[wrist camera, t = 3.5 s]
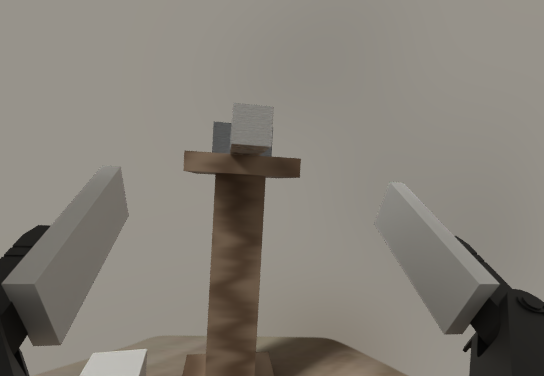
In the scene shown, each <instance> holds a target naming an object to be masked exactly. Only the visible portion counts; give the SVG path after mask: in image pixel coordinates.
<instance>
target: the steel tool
mask: <svg viewBox="0 0 544 376" xmlns="http://www.w3.org/2000/svg"><path fill="white" fill-rule="evenodd" d="M273 109H274V107H270V106H260V105H249V104H239V103H234V104H233V114H232V123H223V122H214V128H213V147H212V153H226V154H240V155H254V156H268V157H271V153H272V135H273Z"/></svg>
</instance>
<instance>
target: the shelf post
mask: <svg viewBox="0 0 544 376" xmlns="http://www.w3.org/2000/svg"><path fill="white" fill-rule="evenodd" d="M300 161H301V159H296V158H282V157H268V156H254V155H240V154H226V153H211V152H197V151H185V153H184V171H188V172H192V173H198V174H199V173H200V174H215V175H216V176H215V177H216V179H215V196H214V214H213V233H212V252H211V271H210V290H209V309H208V329H207V347H206V354H193V355H187V357H186V362H185V366H184V371H183V376H274V373H273V369H272V365H271V361H270V357H269V353H268V352H256V339H257V321H258V303H259V285H260V267H261V249H262V231H263V213H264V212H263V211H264V196H265V178H296V177H298V178H299V177H300V163H301V162H300Z"/></svg>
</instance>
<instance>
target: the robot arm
mask: <svg viewBox="0 0 544 376" xmlns="http://www.w3.org/2000/svg"><path fill="white" fill-rule="evenodd" d="M128 216H129V215H128V209H127V203H126V197H125V191H124V184H123V178H122V172H121V167H117V166H102V167H101V168H100V169H99V170H98V171H97V173H96V174H95V175H94V176H93V177H92V179H91V180H90V181H89V182H88V183H87V184H86V186H85V187H84V188H83V189H82V190H81V191H80V193H79V194H78V195H77V196H76V197H75V198H74V199H73V201H72V202H71V203H70V204H69V205H68V206H67V208H66V209H65V210H64V211H63V212H62V213H61V215H60V216H59V217H58V218H57V219H56V220H55V222H54V223H53V224H52V225H51V226H45V225H44V226H43V225H38V226H36V227H35V228H33V229H32V230H30V231H28V232H27V233H25V234H23V235H22V236H21V237H20V238H19V239H18V241H17V242H16V243H15V244H14V245H13V247H12V248H10V249H9V250H8V251H7V252H6V254H4V257H1V259H0V376H29V373H28V370H27V367H26V364H25V361H24V358H23V355H22V352H21V351H20V349H19V347H20V345H21V344H22V342H23V341H24V339H25V338H26V336H27V335H28V337H29V339H30V341H31V343H32V345H33V346H50V345H61V344H62V342H63V340H64V338H65V336H66V334H67V332H68V330H69V329H70V327H71V325H72V323H73V321H74V319H75V317H76V315H77V313H78V311H79V309H80V307H81V306H82V304H83V302H84V299H85V298H86V296H87V294H88V292H89V290H90V288H91V286H92V284H93V283H94V281H95V279H96V277H97V275H98V273H99V271H100V269H101V267H102V265H103V264H104V262H105V260H106V258H107V256H108V254H109V252H110V250H111V248H112V246H113V244H114V242H115V241H116V239H117V237H118V235H119V233H120V231H121V229H122V227H123V225H124V223H125V222H126V220H127V217H128ZM374 225H375V226H376V228H377V229H378V231H379V233H380V234H381V236H382V237H383V239H384V241H385V242H386V244H387V245H388V247H389V248H390V250H391V252H392V253H393V255H394V256H395V258H396V259H397V261H398V263H399V264H400V266H401V267H402V269H403V270H404V272H405V274H406V275H407V277H408V278H409V280H410V282H411V283H412V285H413V286H414V288H415V289H416V291H417V292H418V294H419V296H420V297H421V299H422V300H423V302H424V304H425V305H426V307H427V308H428V310H429V311H430V313H431V315H432V316H433V318H434V319H435V321H436V322H437V324H438V325H439V327H440V329H441V330H442V332H443V333H444V334H463V332H464V331H465V330H466V328H467V327H468V326H469V324H471V325H472V327H473V328H474V329H475V331H476V333H475V334H474V335H473V336H472V338H471V339H470V340H469V341H468V343H467V344H466V345H465V346H464V349H463V351H464V352H467V350H468V349H469V348H471V362H470V375H469V376H544V302H542V301H541V300H540V299H538V298H537V297H535V296H533V295H532V294H530V293H528V292H525V291H522V290H517V289H512V288H511V287H510V286H509V285H508V284H507V283H506V282H505V281H504V280H503V279H502V278H501V277H500V276H499V275H498V274H497V273H496V272H495V271H494V270H493V269H492V268H491V267H490V266H489V265H488V264H487V263H485V262H484V260H483V259H482V258H481V257H480V256H479V255H477V253H476V252H475V250H474V249H472V247H470V245H469V244H467V243H466V242H464V241H463V240H461V239H460V238H458V237H457V236H454V235H452V233H451V232H450V231H449V230H448V229H447V228H446V227H445V226H444V225H443V224H442V223H441V222H440V221H439V220H438V219H437V218H436V217H435V216H434V214H433V213H432V212H431V211H430V210H429V209H428V208H427V207H426V206H425V205H424V204H423V203H422V202H421V201H420V200H419V199H418V198H417V197H416V196H415V195H414V193H413V192H412V191H411V190H410V189H409V188H408V187H407V186H406V185H405V184H404V183H400V182H389V185H388V188H387V190H386V193H385V196H384V198H383V201H382V203H381V206H380V209H379V211H378V214H377V217H376V220H375V222H374Z"/></svg>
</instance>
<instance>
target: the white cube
mask: <svg viewBox="0 0 544 376" xmlns="http://www.w3.org/2000/svg"><path fill="white" fill-rule="evenodd" d="M146 362H147V349H138V350H126V351H113V352H101V353H93V354H92V356H91V358H90V359H89V361H88V363H87V364H86V366H85V368H84V369H83V371H82V373H81V374H80V376H146Z"/></svg>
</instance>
